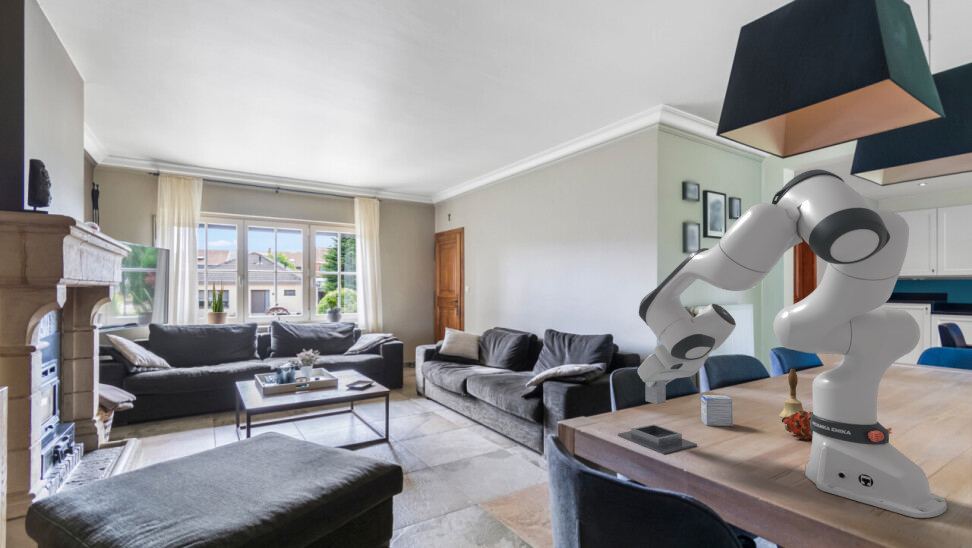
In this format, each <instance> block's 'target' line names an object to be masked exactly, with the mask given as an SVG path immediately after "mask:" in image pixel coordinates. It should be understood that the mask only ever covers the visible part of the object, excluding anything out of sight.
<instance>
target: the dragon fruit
mask: <svg viewBox="0 0 972 548" xmlns="http://www.w3.org/2000/svg"><path fill="white" fill-rule="evenodd" d="M812 412H813V411H805V410H803V411H801V410H799V413H795V414H792V415H791V416H787V417H784V418H782V419H781V423H783V424H784V428H785V430H786V431H787V432H788V433H791V434H794V435H796V438H797V439H798V440H804V439H805V438H806V439H807V440H808V441H810V442H812V435H811V427H810V422H811V413H812Z"/></svg>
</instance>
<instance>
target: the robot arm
mask: <svg viewBox="0 0 972 548" xmlns="http://www.w3.org/2000/svg"><path fill="white" fill-rule="evenodd" d="M771 201H772V202H763V203H762V202H761V203H757V204H754V205H752V206H750V207H749V208H748V209H746V211H745V212H744V213H742V214H741V215H740V216H739V217H738V218H737V219H736V220H735V222H733V224H732V225H731V226H729V228H727V231H725V232H724V234H723V235H722V236H721V238H720V239H719V241H717V243H716V244H715V245H714V246H713V247H712V246H711V248H708V247H704V248H699V249H698V250H696V251H694V252H692V253H691V254H689V255H688V256H687V257H686V258H684V260H683V261H682V262H681V263H680V264H679V265H677V267H675V269H674V270H673V271H672V272H670V273H669V275H668V276H667V277H666V278H664V280H663V281H661V283H660V284H659V285H658V286H657V287H656V288H654V289H653V290H651V291H650V292H649V293H648V294H646V295H645V296H644V297H643V298H642V299H641V301H640V303H639V308H638V316H639V317H640V319H642V321H643V322H644V323H645V324H646V325H647V326H648V327H649V328H650V330H651V331H652V332H653V334H654V335H655V336H656V338H657V339H658V340H659V342H660V343H661V344H657V345H656V346H655V347H654V348H653V350H652V351H653V353H651V354H649V355H648V357H646V358H645V360H644V361H643V362H642V363H641V364H640V366H639V367H638V368H637V374H638V376H639V377H640V379H641V381H642V382H643V383H645V382H646V384H647V386H648V387H654V386H655V385H656V383H655V382H656V381H659V380H666V385H668V383H670V382H672V381H674V380H676V379H681V378H689V377H690V378H691V377H693V376H694V375H696V374H697V373H698V372H699V371H700V370H701V368H703V366H704V365H705V363H706V360H708V358H709V357H710V354H711V353H712V352H713V351H716V350H718V348H720V347H721V345H723V344H724V343H725V341H727V339H728V338H729V337H730V336H731V334H732V333H733V331H734V330H735V328H736V326H737V322H736V321H735V319H734V318H733V316H732V315H731V314H730V313H729V312H728V311H727V310H726V309H725V308H724V307H722V306H721V305H718V304H716V303H711V304H708V305H707V306H706V307H705V308H703V309H702V310H700V311H699V313H697V315H695V316H692V314H690V312H689V311H688V310H687V309H686V308H685V306H684V305H683V304H682V302H681V297H680V296H681V294H683V292H685V291H686V290H687V289H688V288H689V287H690V286H691V285H692V284H693V283H694V282H695V281H697V280H698V279H699V280H701V281H703V282H705V283H707V284H709V285H711V286H713V287H716V288H718V289H722V290H725V291H732V292H742V291H747V290H750V289H752V288H755V287H756V286H757V285H758V284H759V283H761V282H762V281H763V280H764V279H765V278H766V277H767V276H768V275H769V274H770V272H771V271H772V270H773V268H774V267H775V266H777V264H778V263H779V261H780V260H781V259H782V257H783V256H784V254H785V253H786V252H787V251H788V250H790V249H791V248H793V247H795V246H797V245H799V244H800V243H803V242H806V244H808V246H809V248H810V250H811V251H812V252H813V253H814V254H815V255H816V256H818V258H820V259H821V260H823V261H825V262H827V265H826V268H825V270H824V274H823V276H822V279H821V281H820V283H819V285H818V286H817V287H816V288H815V289H814V290H813V291H811V293H810V294H808V295H807V296H806V297H805V298H803V299H801V300H799V301H798V302H796V303H793V304H791V305H789V306H786V307H783V308H782V309H780V310H779V311H778V313H776V315H775V317H774V320H773V326H772V327H773V328H772V329H773V334H774V337H775V339H776V341H778V343H779V344H780V345H781V346H783V348H785V349H788V350H794V351H796V352H797V351H798V352H801V353H806V354H807V353H808V354H820V355H822V354H823V355H840V356H841V355H843V357H842V359H841V361H840V363H839V364H838V365H837V366H835V367H833V368H831V369H828V370H825V371H823V372H821V373H819V374H818V375H816V377H815V378H814V379H813V381H812V385H811V386H812V390H811V391H812V411H811V412H812V413H811V422H810V427H811V435H812V441H811V448H810V455H809V459H808V463H807V467H806V470H805V472H804V474H805V476H806V477H807V479H809V480H810V481H811V482H813V483H814V484H815V485H816V488H817V489H819V490H820V491H822V492H826V493H828V494H833V495H836V496H839V497H843V498H847V499H848V500H852V501H857V502H859V503H864V504H866V505H869V506H870V505H871V506H874V507H877V508H880V509H884V510H887V511H890V512H893V513H897V514H900V515H904V516H908V517H912V518H916V519H917V518H918V519H923V518H924V519H925V518H933V517H934V518H935V517H937V516H940V515H942V514H944V513H945V512H946V511H947V510H948V509H947V508H948V507H947V501H946V500H945V499H944V498H943V497H942V496H940V495H937V494H935V493H932V491H931V487H930V482H929V480H928V477H927V474H926V472H925V470H924V469H923V468H922V467H920V466H919V465H918V464H916V462H914V461H913V460H912V459H910V458H909V457H907V456H906V455H905V454H904V453H902V452H901V451H900V450H899V449H898V448H897V447H895V446H893V444H891V443H890V435H891V434H892V433H893V432H892V427H889V428H886V427H884V426H883V425H882V424H881V423H880V422H879V421H878V398H879V397H878V394H879V387H880V385H881V381H882V379H883V377H884V375H885V374H886V372H887V370H889V368H890V367H891V366H892V365H893V364H894V363H895V362H897V361H898V360H899V359H901V358H902V357H904V356H906V355H908V354H910V353H911V352H913V351H914V350H915V349H916V347H917V346H918V344H919V343H920V339H921V330H920V326H919V324H918V322H917V320H916V319H915V317H914V316H913V315H912V314H911V313H909V311H906V310H905V309H898V308H894V307H887V306H884V305H885V303H886V302H887V301H889V299H890V298H891V296H892V294H893V291H894V288H895V286H896V283H897V281H898V278H899V277H900V273H901V271H902V268H903V265H904V262H905V259H906V255H907V252H908V247H909V237H910V235H909V234H910V232H909V231H910V226H909V223H908V222H907V221H906V219H905V217H903V216H902V215H900V214H899V213H897V212H894V211H891V210H888V209H883V208H873V207H872V206H871V205H870V204H869V203H868V201H867V200H866V199H865V198H864V197H863V195H861V193H860V192H859V191H856V190H855V189H854V188H853V187H851V185H849V184H847V183H846V182H845V180H844V179H843V178H841V176H839V175H838V174H835V173H834V172H831V171H829V170H825V169H821V168H820V169H809V170H807V171H803V172H802V173H799V174H798V175H796V176H795V177H793V178H792V179H790V180H789V181H788V182H787V183H785V185H784V186H783V187H781V189H779V190H778V191H777V192H776V193H775V194H774V195H773V198H772V200H771ZM803 240H804V241H803ZM882 305H883V306H882Z"/></svg>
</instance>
